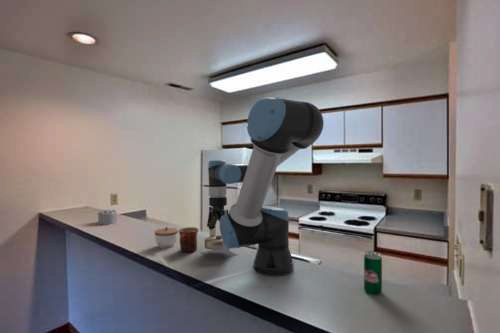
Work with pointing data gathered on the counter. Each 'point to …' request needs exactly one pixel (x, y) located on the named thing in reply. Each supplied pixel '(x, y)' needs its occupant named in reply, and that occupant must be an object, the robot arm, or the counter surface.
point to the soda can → (373, 273)
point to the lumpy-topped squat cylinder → (107, 217)
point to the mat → (218, 254)
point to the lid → (214, 243)
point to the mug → (188, 239)
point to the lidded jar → (166, 237)
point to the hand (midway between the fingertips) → (219, 247)
